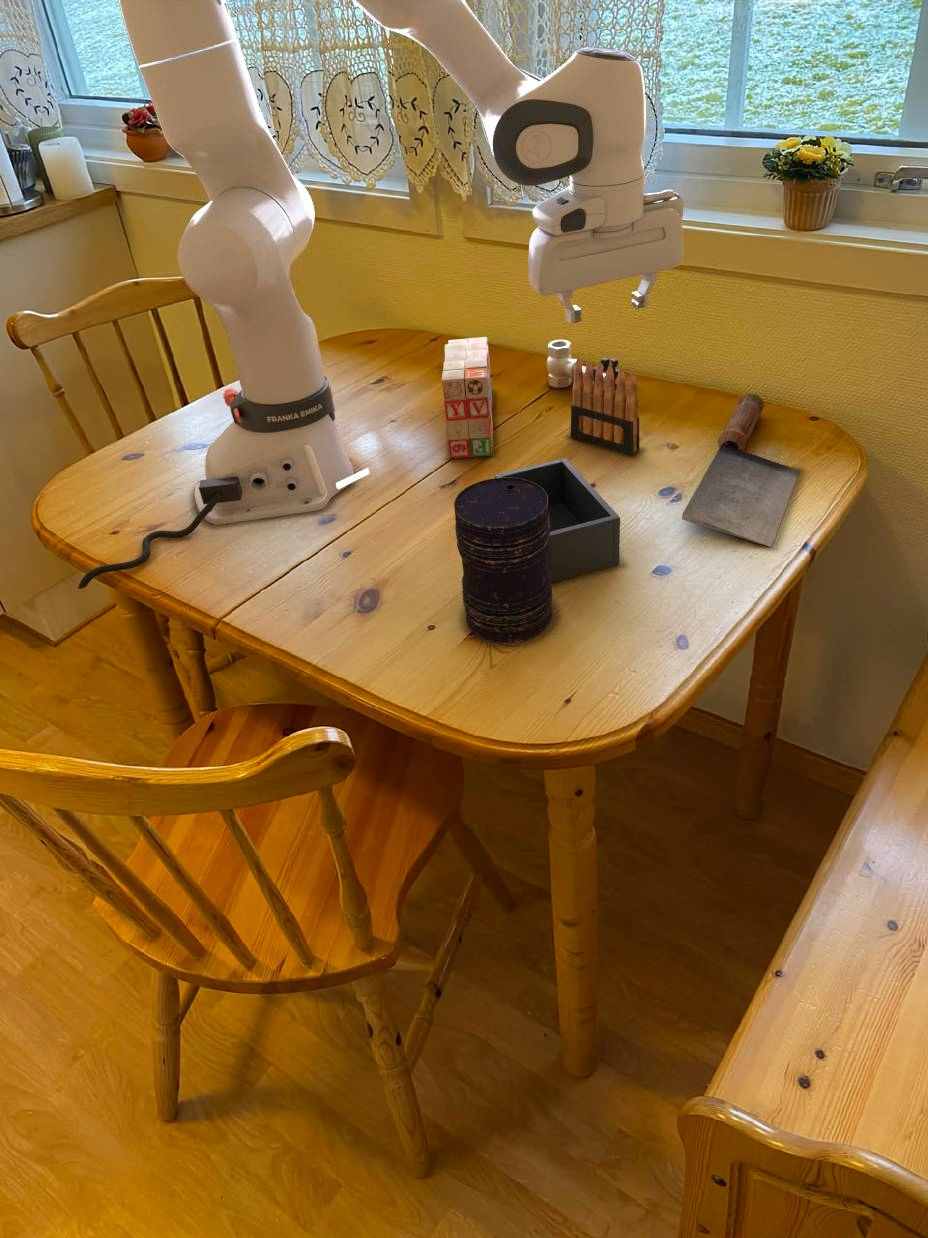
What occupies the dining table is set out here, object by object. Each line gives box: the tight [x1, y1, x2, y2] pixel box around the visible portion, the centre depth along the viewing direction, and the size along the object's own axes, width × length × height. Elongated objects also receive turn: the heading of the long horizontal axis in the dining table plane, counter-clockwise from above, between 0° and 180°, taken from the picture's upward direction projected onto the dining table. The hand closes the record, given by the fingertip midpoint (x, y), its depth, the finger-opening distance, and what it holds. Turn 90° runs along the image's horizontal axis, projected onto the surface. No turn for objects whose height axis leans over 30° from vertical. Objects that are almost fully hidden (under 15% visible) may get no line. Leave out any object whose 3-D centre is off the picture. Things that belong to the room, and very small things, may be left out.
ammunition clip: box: [569, 357, 640, 457], centre depth 129 cm, size 11×2×12 cm, turn 49°
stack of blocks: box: [441, 336, 494, 460], centre depth 137 cm, size 21×6×12 cm, turn 179°
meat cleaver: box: [681, 393, 801, 548], centre depth 122 cm, size 34×11×4 cm, turn 155°
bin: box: [494, 457, 621, 584], centre depth 112 cm, size 10×16×7 cm, turn 18°
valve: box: [546, 339, 620, 392], centre depth 145 cm, size 7×7×12 cm
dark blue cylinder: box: [453, 477, 553, 645], centre depth 99 cm, size 10×10×15 cm
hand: (606, 314), depth 121 cm, fingers open, 8 cm apart
